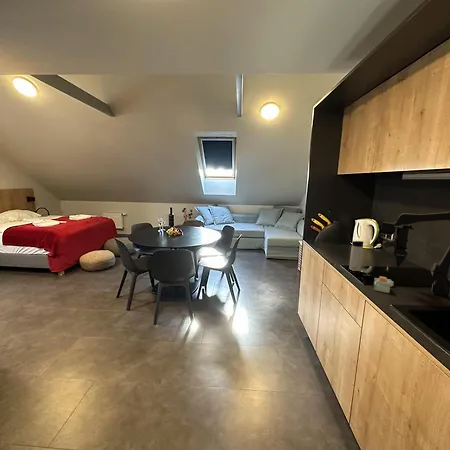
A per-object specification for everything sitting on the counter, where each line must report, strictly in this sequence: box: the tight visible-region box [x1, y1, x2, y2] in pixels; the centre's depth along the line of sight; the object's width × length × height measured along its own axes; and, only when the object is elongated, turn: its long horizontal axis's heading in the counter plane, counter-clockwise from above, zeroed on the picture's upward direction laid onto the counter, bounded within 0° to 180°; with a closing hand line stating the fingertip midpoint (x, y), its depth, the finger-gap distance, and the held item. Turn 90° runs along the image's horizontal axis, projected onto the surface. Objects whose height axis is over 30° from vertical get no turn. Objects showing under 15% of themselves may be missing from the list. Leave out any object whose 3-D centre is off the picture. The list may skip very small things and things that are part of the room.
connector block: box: [378, 275, 388, 286], centre depth 142 cm, size 4×4×6 cm
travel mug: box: [348, 240, 364, 272], centre depth 169 cm, size 6×7×20 cm
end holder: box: [373, 281, 391, 294], centre depth 142 cm, size 7×7×3 cm
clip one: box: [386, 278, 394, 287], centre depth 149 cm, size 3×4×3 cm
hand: (397, 264), depth 147 cm, fingers open, 9 cm apart
